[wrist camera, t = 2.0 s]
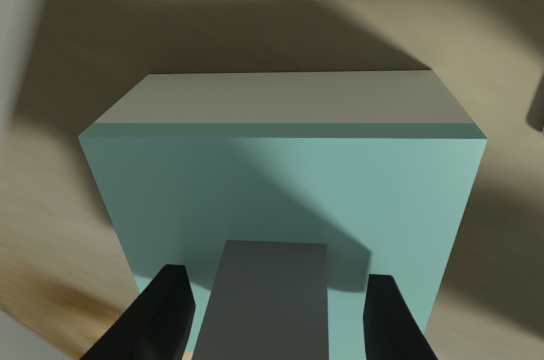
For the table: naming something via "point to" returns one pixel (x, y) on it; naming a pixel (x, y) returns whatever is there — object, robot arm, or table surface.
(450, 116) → the storage box
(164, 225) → the lid
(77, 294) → the table surface
